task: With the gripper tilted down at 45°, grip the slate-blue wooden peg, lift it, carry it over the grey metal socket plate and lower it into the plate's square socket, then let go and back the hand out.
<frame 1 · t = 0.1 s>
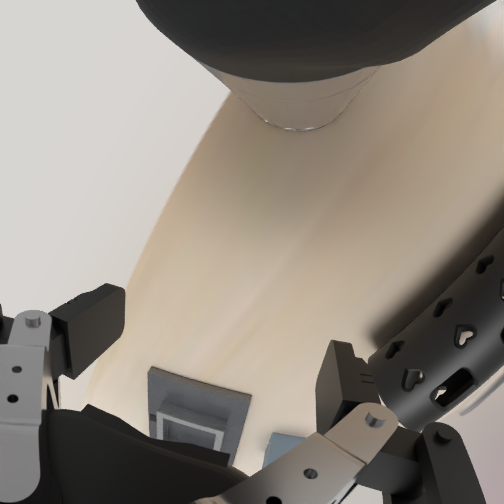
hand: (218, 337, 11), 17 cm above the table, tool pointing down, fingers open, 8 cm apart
muzzle brake: (482, 267, 26), on the table
grey metal socket plate: (195, 424, 36), on the table
peg: (285, 445, 35), on the table
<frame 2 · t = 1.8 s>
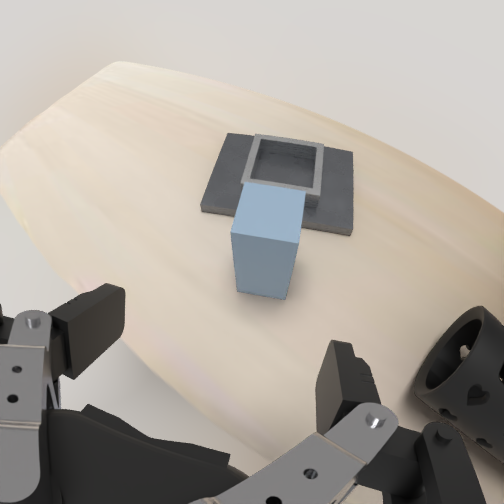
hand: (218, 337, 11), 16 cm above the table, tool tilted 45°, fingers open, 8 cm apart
muzzle brake: (498, 431, 21), on the table
grey metal socket plate: (283, 181, 36), on the table
peg: (265, 274, 31), on the table
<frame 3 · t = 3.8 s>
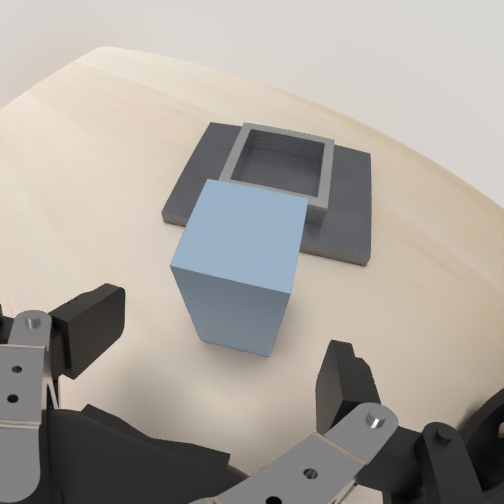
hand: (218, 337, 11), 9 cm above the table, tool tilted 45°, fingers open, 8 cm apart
grey metal socket plate: (277, 186, 27), on the table
peg: (242, 317, 21), on the table
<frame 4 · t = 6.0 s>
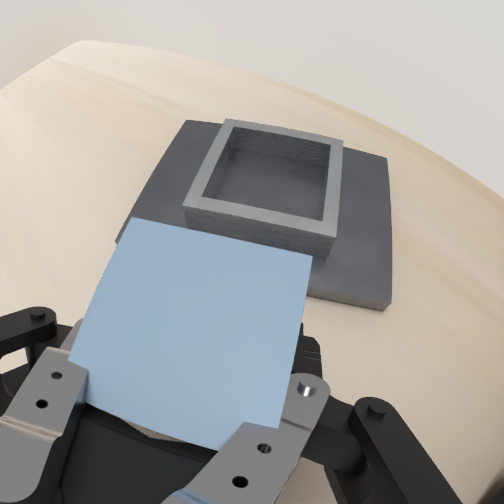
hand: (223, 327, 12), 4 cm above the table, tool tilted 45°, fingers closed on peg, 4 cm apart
grey metal socket plate: (268, 201, 21), on the table
peg: (218, 387, 15), on the table, touching gripper
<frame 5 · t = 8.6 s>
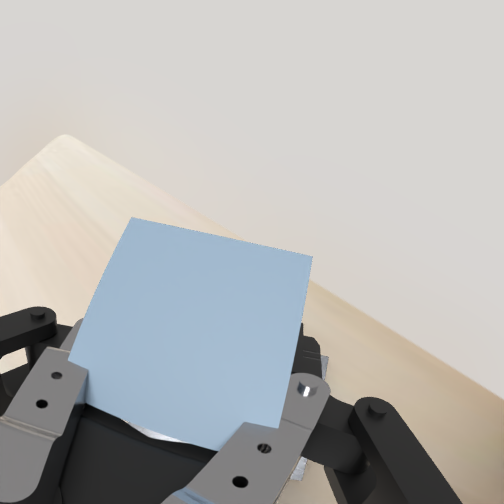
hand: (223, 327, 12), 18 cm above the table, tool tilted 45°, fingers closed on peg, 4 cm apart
grey metal socket plate: (228, 401, 27), on the table
peg: (218, 387, 15), point 14 cm above the table, touching gripper
when the fingers open (7 cm above the table, at t = 11.8 s): peg drops 1 cm, resting on grey metal socket plate.
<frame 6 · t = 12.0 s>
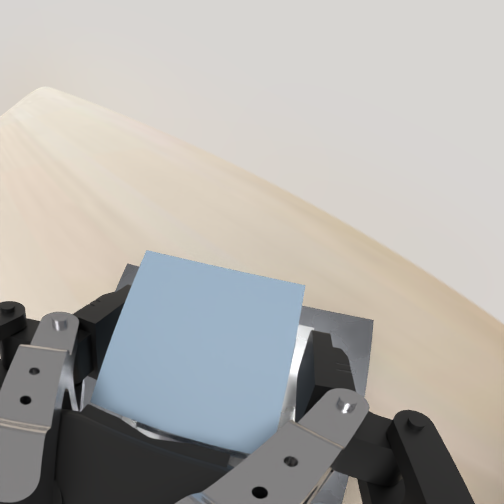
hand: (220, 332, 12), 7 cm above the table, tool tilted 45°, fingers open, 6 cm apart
grey metal socket plate: (221, 392, 17), on the table
peg: (221, 391, 16), point 1 cm above the table, touching grey metal socket plate
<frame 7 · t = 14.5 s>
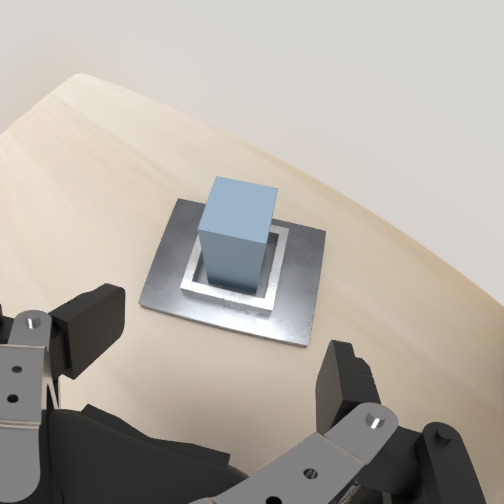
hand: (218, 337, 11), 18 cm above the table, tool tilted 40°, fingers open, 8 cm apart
grey metal socket plate: (236, 270, 32), on the table
peg: (237, 266, 30), point 1 cm above the table, touching grey metal socket plate
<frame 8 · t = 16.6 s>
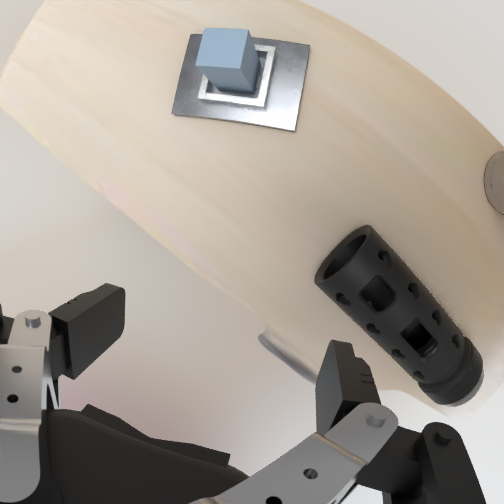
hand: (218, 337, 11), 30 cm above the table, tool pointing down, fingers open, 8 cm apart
muzzle brake: (402, 311, 41), on the table
grey metal socket plate: (240, 79, 37), on the table
peg: (239, 76, 36), point 1 cm above the table, touching grey metal socket plate
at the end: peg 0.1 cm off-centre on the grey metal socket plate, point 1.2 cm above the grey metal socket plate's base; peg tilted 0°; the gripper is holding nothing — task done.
